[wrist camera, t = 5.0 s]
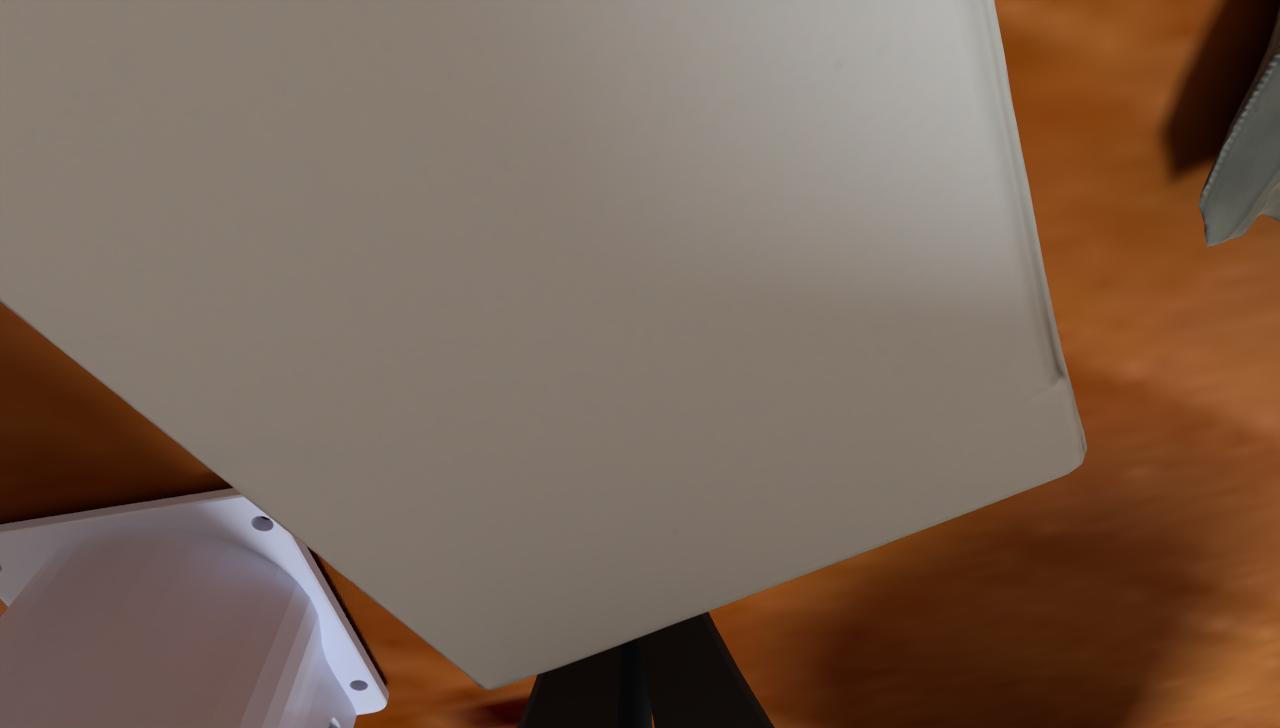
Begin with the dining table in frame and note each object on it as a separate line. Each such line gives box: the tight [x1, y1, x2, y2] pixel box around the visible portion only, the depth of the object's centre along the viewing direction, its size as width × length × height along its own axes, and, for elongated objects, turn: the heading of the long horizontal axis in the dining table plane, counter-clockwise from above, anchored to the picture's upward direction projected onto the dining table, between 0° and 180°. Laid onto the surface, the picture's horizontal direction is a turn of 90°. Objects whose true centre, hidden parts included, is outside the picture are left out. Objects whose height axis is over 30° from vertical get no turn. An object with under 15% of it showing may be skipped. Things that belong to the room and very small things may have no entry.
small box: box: [0, 0, 1087, 690], centre depth 8 cm, size 8×6×10 cm
